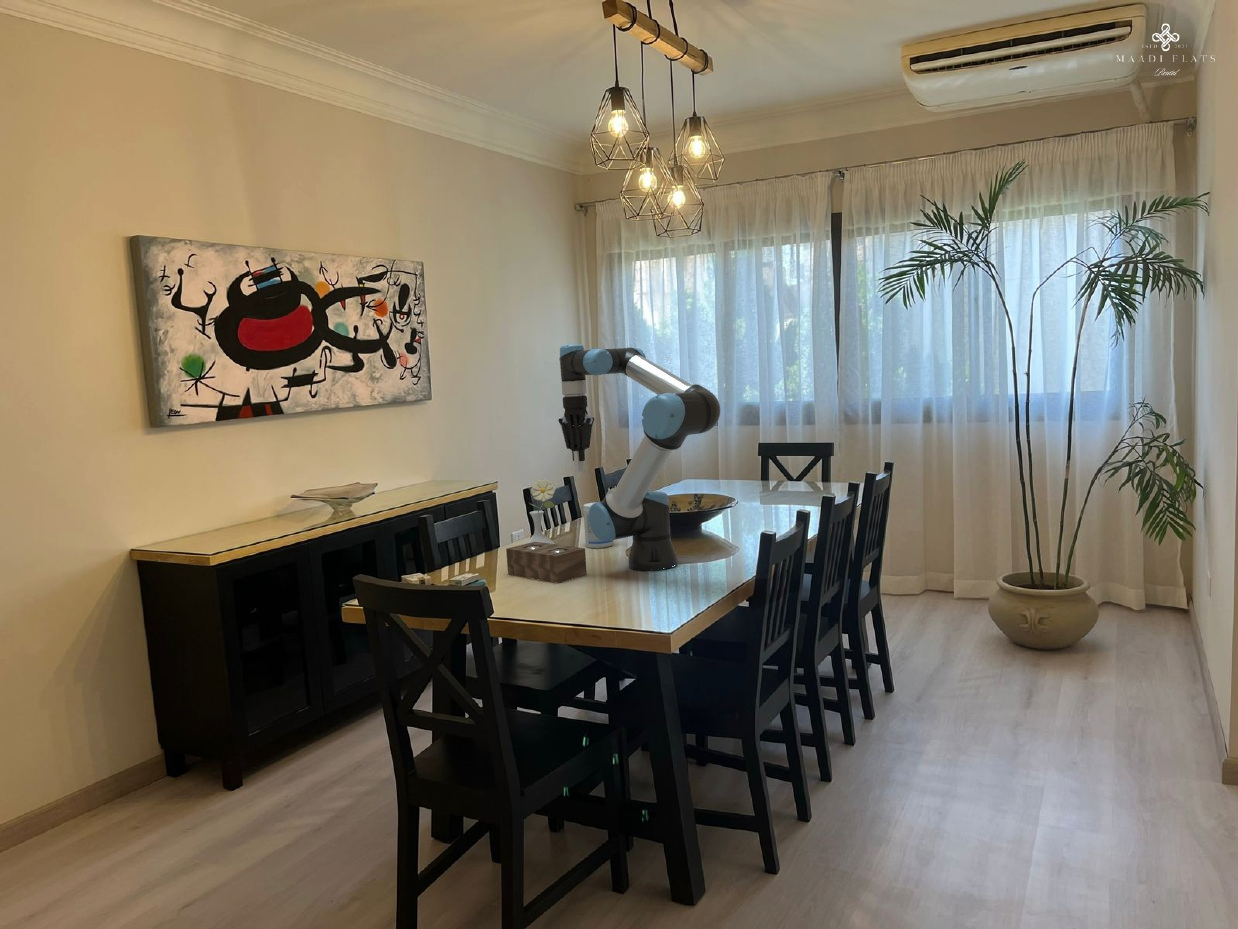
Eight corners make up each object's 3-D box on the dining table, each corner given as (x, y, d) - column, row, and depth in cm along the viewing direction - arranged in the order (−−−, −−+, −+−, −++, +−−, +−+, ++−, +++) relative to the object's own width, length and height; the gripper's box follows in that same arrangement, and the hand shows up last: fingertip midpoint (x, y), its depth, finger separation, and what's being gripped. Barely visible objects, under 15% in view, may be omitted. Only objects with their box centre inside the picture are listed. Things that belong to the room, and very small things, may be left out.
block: (586, 574, 273) (585, 548, 272) (557, 583, 264) (556, 556, 264) (536, 566, 288) (535, 541, 287) (507, 574, 279) (506, 548, 278)
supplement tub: (618, 545, 313) (616, 503, 312) (595, 550, 308) (592, 507, 307) (603, 542, 322) (601, 500, 320) (580, 546, 316) (577, 504, 315)
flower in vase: (517, 555, 307) (511, 481, 304) (530, 548, 317) (526, 477, 315) (552, 556, 302) (548, 481, 300) (565, 549, 313) (561, 476, 310)
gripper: (598, 394, 279) (603, 470, 281) (566, 395, 287) (571, 469, 289) (582, 395, 273) (587, 473, 275) (550, 396, 281) (555, 472, 284)
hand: (579, 471), depth 282 cm, fingers closed
